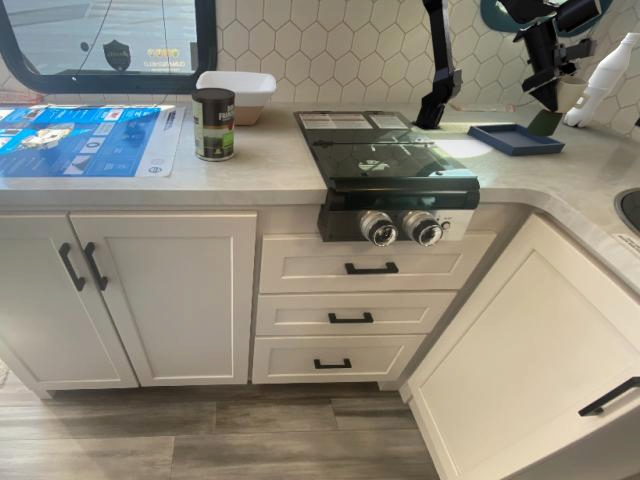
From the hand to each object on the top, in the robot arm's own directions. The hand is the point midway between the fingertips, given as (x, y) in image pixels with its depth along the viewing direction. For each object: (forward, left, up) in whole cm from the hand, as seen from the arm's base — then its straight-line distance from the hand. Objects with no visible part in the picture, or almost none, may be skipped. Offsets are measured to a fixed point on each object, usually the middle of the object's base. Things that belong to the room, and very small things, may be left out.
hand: (560, 109), depth 87 cm
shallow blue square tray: (+3, +10, -12) cm, 16 cm away
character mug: (0, +2, -7) cm, 7 cm away
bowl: (-75, +42, -12) cm, 87 cm away
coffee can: (-87, +15, -12) cm, 89 cm away
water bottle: (+39, +21, -12) cm, 46 cm away
